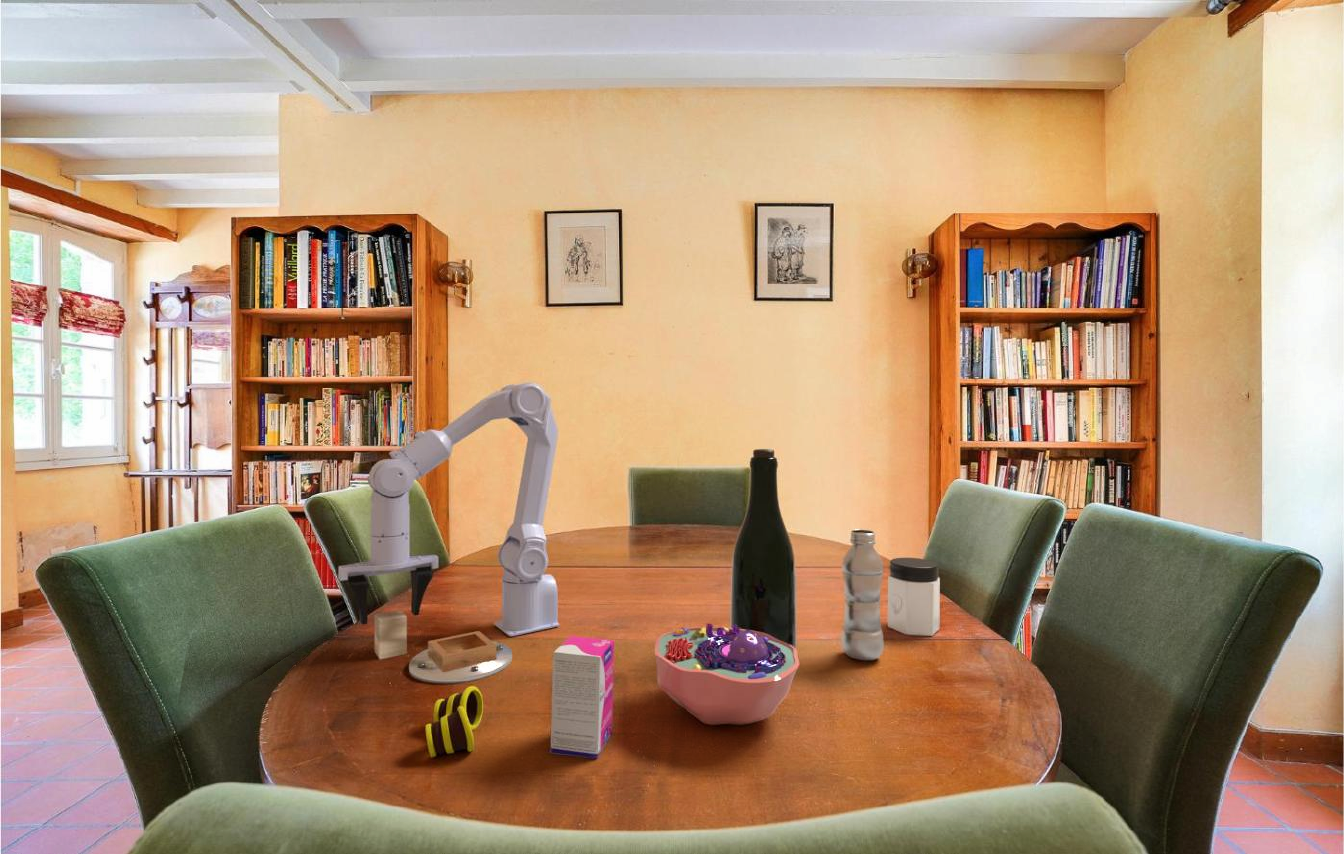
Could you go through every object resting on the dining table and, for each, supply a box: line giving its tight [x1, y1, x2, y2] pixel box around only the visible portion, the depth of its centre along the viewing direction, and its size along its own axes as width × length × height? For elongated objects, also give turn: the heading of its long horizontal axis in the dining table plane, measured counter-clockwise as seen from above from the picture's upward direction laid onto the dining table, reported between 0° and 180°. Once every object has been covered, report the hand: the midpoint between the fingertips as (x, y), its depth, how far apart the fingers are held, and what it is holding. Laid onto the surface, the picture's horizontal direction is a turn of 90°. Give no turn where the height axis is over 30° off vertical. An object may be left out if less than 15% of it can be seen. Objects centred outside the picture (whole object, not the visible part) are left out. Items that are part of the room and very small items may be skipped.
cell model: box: [654, 622, 800, 726], centre depth 78 cm, size 17×20×11 cm
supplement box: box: [549, 635, 615, 759], centre depth 70 cm, size 6×6×12 cm
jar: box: [887, 557, 941, 637], centre depth 110 cm, size 9×8×12 cm
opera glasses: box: [425, 685, 484, 759], centre depth 72 cm, size 10×5×5 cm, turn 11°
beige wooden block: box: [374, 610, 408, 660], centre depth 98 cm, size 4×4×6 cm
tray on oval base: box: [408, 630, 513, 685], centre depth 94 cm, size 15×15×3 cm
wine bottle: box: [729, 448, 797, 650], centre depth 97 cm, size 10×10×33 cm
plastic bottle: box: [840, 529, 885, 661], centre depth 96 cm, size 6×7×20 cm
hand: (390, 618), depth 98 cm, fingers open, 7 cm apart
